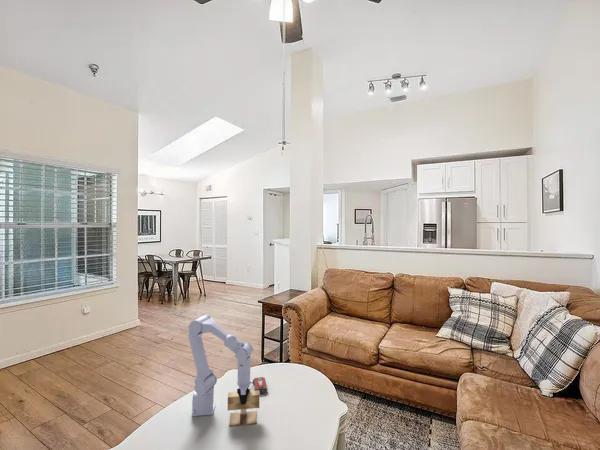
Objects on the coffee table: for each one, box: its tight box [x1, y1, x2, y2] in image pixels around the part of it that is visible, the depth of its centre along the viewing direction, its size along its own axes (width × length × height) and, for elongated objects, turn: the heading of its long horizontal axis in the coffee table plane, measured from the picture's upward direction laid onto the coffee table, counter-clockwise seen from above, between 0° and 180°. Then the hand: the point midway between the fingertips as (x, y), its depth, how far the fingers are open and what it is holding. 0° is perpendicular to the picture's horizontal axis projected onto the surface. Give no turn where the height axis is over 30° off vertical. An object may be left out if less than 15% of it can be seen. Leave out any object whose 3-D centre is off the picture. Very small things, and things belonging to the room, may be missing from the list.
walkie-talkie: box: [249, 376, 268, 395], centre depth 154 cm, size 9×4×20 cm
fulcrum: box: [228, 409, 258, 427], centre depth 132 cm, size 12×8×3 cm, turn 99°
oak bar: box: [227, 390, 260, 411], centre depth 132 cm, size 14×4×6 cm, turn 99°
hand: (243, 401), depth 132 cm, fingers closed on oak bar, 3 cm apart
